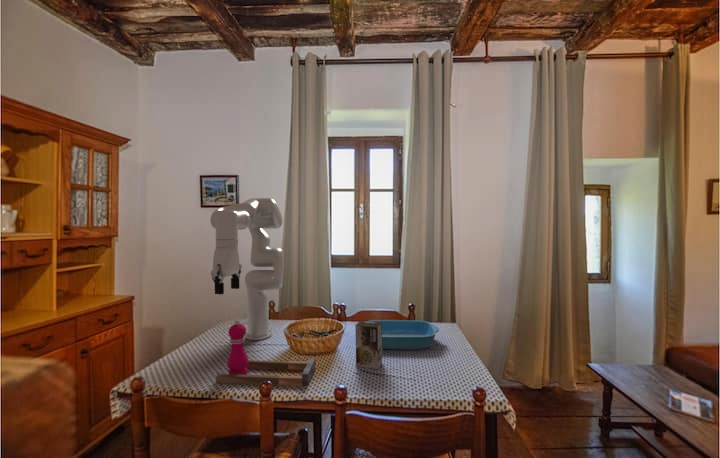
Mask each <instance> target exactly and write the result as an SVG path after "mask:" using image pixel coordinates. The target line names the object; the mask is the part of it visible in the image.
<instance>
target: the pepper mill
mask: <svg viewBox="0 0 720 458" xmlns="http://www.w3.org/2000/svg"><path fill="white" fill-rule="evenodd" d="M246 333H247V328H246V326H245V325H244V324H243V323H241V322H240V320H239V319H236V320H234V324H232V325H231V326H230V327H229V328H228V336H229V337H230V338H229V343H230V344H231V351H230V354H229V356H228V358H227V363H226V365H227V368H228V369H229V370H228V374H237V375H248V368H246V366H247V365H248V362H249V361H248V360H249V357H248V355H247V353H246V350H245V347H244V346H245V343H244V342H245V341H246V338H245V334H246Z"/></svg>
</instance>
